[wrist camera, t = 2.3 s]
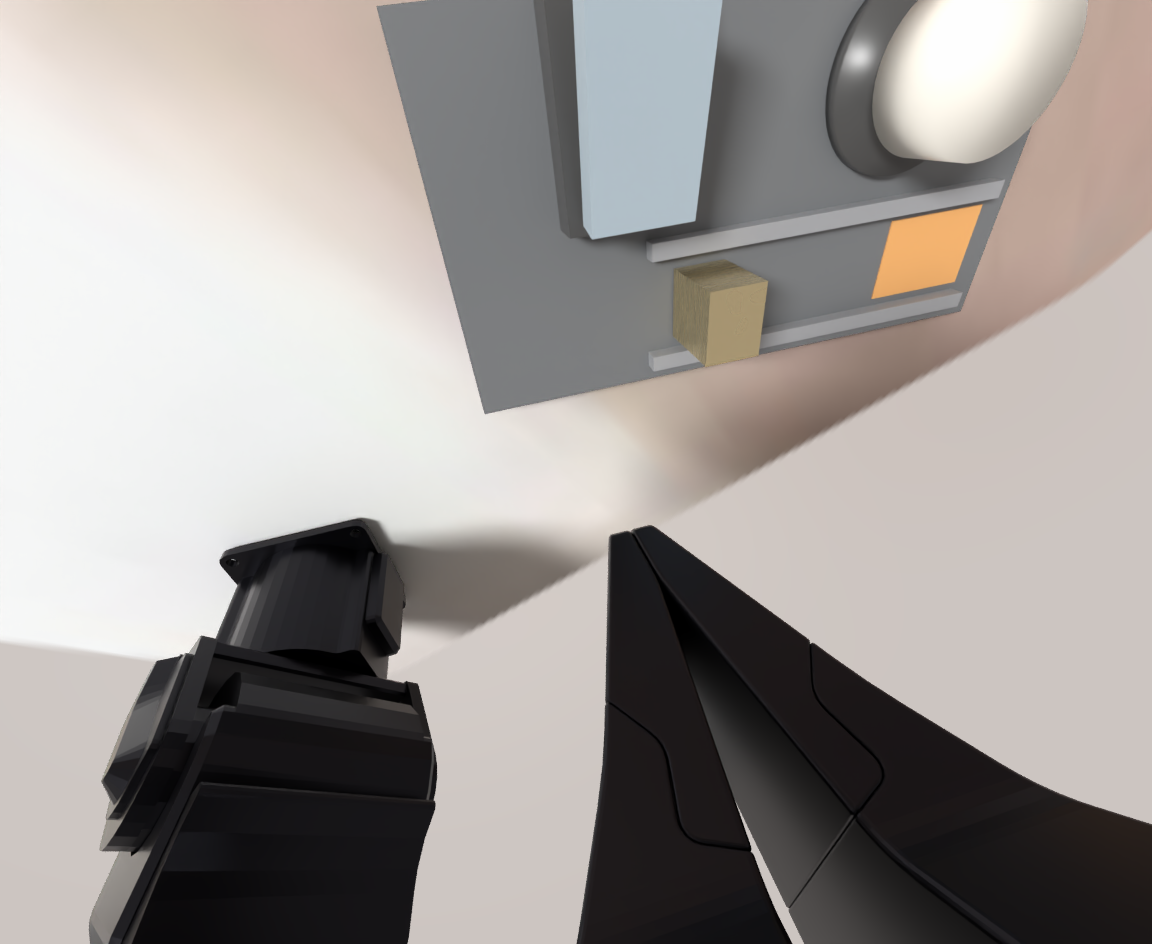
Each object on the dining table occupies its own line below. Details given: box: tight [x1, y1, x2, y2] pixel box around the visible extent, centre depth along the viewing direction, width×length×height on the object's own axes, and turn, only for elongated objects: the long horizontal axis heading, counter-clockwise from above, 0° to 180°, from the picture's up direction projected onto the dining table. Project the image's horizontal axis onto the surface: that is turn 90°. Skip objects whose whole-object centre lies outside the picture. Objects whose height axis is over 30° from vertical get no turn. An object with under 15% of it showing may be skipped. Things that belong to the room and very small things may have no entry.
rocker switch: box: [573, 0, 722, 240], centre depth 13 cm, size 3×5×1 cm, turn 7°
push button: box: [872, 0, 1088, 164], centre depth 14 cm, size 4×4×2 cm
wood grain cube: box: [673, 259, 768, 367], centre depth 17 cm, size 2×3×3 cm
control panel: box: [377, 0, 1032, 414], centre depth 17 cm, size 22×12×3 cm, turn 97°
